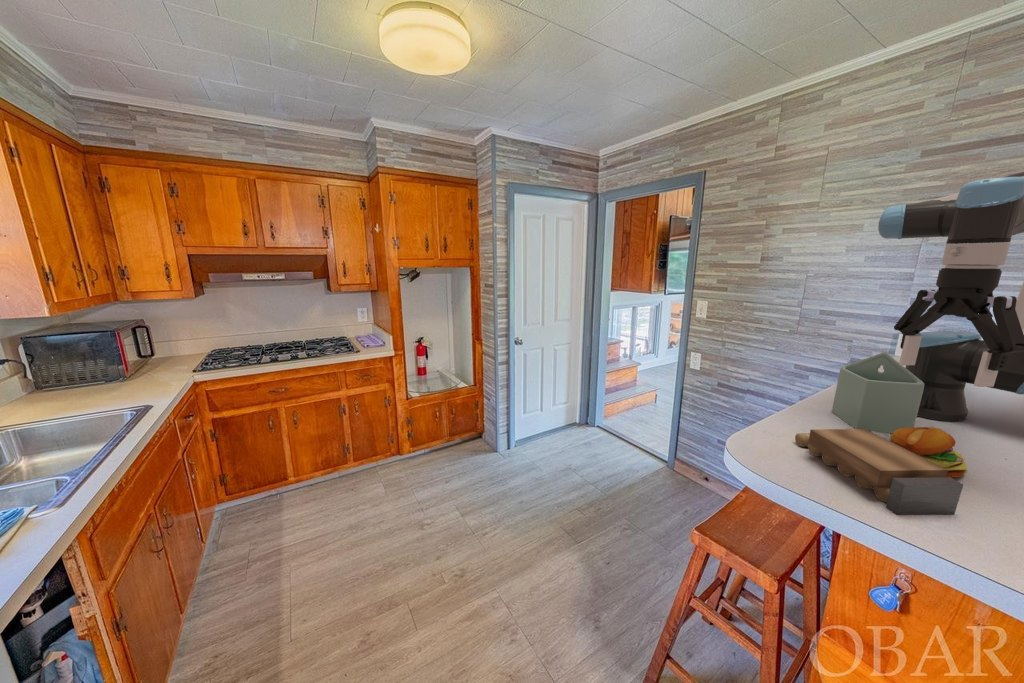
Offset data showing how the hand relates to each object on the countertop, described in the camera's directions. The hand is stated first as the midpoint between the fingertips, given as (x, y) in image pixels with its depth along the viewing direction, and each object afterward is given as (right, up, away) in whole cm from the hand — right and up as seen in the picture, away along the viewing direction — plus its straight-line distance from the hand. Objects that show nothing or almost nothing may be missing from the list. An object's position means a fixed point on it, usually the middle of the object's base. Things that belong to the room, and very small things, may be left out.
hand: (941, 374), depth 74 cm
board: (-14, -18, +1) cm, 23 cm away
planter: (+6, -16, +23) cm, 29 cm away
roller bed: (-14, -21, +4) cm, 25 cm away
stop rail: (-14, -23, -9) cm, 29 cm away
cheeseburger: (+1, -20, +4) cm, 21 cm away
